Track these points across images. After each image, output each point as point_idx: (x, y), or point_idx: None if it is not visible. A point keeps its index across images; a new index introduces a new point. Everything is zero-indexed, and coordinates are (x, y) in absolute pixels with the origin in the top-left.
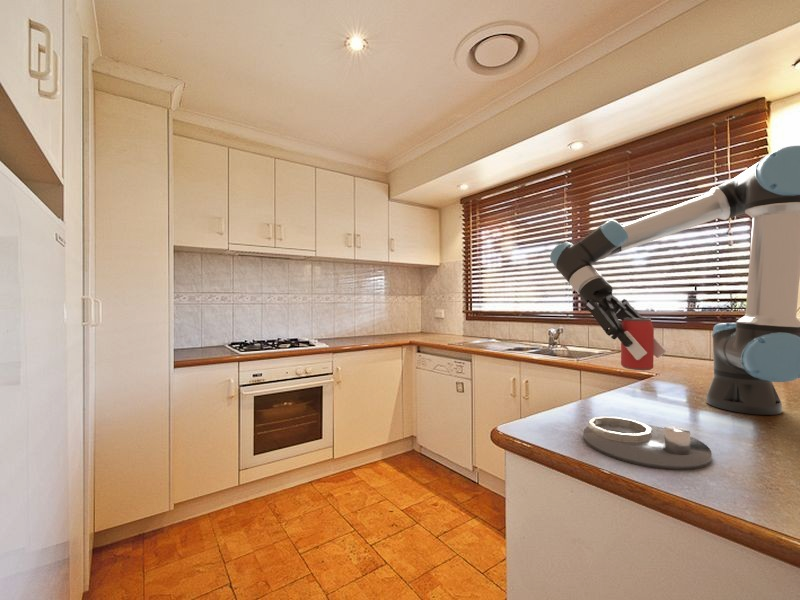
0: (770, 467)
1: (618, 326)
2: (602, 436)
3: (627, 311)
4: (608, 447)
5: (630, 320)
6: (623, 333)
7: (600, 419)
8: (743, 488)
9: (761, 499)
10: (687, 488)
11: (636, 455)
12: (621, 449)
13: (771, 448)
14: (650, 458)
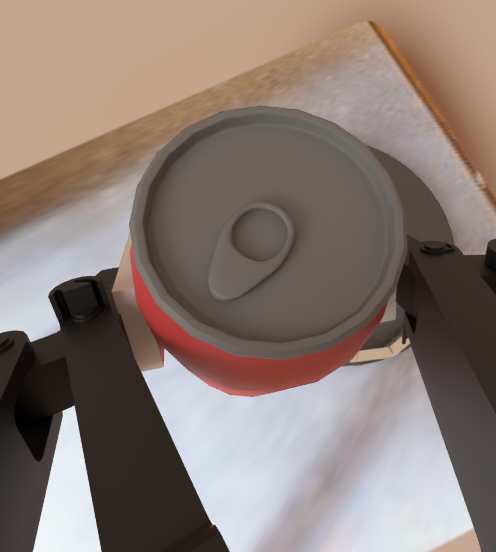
0: (194, 119)
1: (466, 261)
2: None
3: (121, 536)
4: (437, 227)
5: (389, 194)
6: (409, 252)
7: (370, 349)
8: (312, 90)
9: (318, 67)
10: (391, 109)
11: (408, 184)
12: (418, 212)
13: (91, 168)
14: (392, 168)
